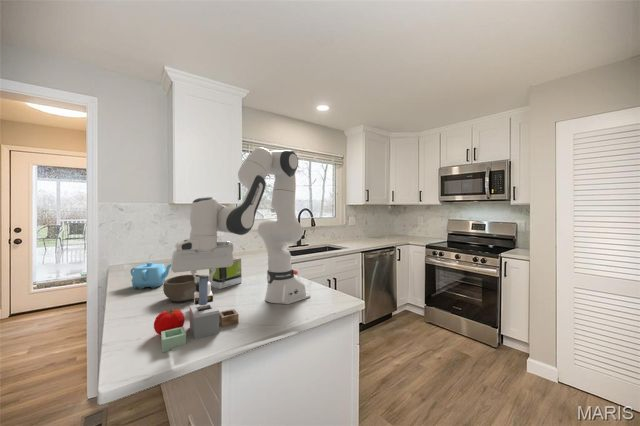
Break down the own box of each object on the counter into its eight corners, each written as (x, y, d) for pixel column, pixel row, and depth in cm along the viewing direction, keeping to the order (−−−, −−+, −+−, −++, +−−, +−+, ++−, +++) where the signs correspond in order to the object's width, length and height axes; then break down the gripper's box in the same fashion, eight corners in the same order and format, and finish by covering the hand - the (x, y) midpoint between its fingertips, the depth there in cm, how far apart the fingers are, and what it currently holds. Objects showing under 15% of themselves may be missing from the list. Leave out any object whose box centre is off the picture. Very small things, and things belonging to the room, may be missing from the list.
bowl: (155, 301, 128) (155, 280, 127) (189, 290, 143) (189, 272, 143) (179, 307, 120) (178, 285, 119) (211, 296, 135) (211, 276, 135)
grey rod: (206, 302, 98) (207, 274, 98) (208, 304, 95) (208, 276, 95) (198, 303, 96) (198, 275, 96) (199, 305, 94) (200, 277, 94)
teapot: (138, 293, 139) (138, 267, 139) (126, 286, 149) (126, 262, 149) (174, 285, 154) (174, 261, 153) (162, 279, 164) (162, 257, 163)
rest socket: (183, 338, 92) (183, 326, 92) (186, 346, 87) (186, 334, 87) (161, 343, 89) (161, 331, 89) (162, 352, 83) (162, 339, 83)
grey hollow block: (212, 324, 103) (212, 301, 102) (219, 335, 94) (219, 310, 94) (189, 330, 98) (189, 305, 98) (194, 341, 90) (194, 315, 90)
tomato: (148, 340, 90) (148, 316, 90) (164, 327, 101) (164, 305, 100) (177, 340, 91) (176, 315, 91) (190, 326, 101) (189, 304, 101)
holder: (233, 320, 107) (233, 308, 107) (238, 325, 102) (238, 314, 102) (218, 323, 104) (218, 312, 104) (222, 329, 99) (222, 317, 99)
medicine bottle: (194, 314, 113) (194, 285, 113) (194, 308, 119) (194, 281, 119) (213, 311, 116) (213, 283, 116) (211, 305, 122) (211, 279, 122)
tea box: (231, 280, 164) (231, 256, 164) (242, 283, 158) (241, 258, 158) (208, 286, 152) (208, 260, 152) (219, 289, 146) (219, 262, 146)
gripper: (230, 240, 104) (230, 275, 104) (170, 243, 92) (170, 283, 93) (235, 242, 99) (235, 279, 99) (172, 245, 87) (172, 288, 87)
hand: (203, 281), depth 96 cm, fingers closed on grey rod, 3 cm apart
